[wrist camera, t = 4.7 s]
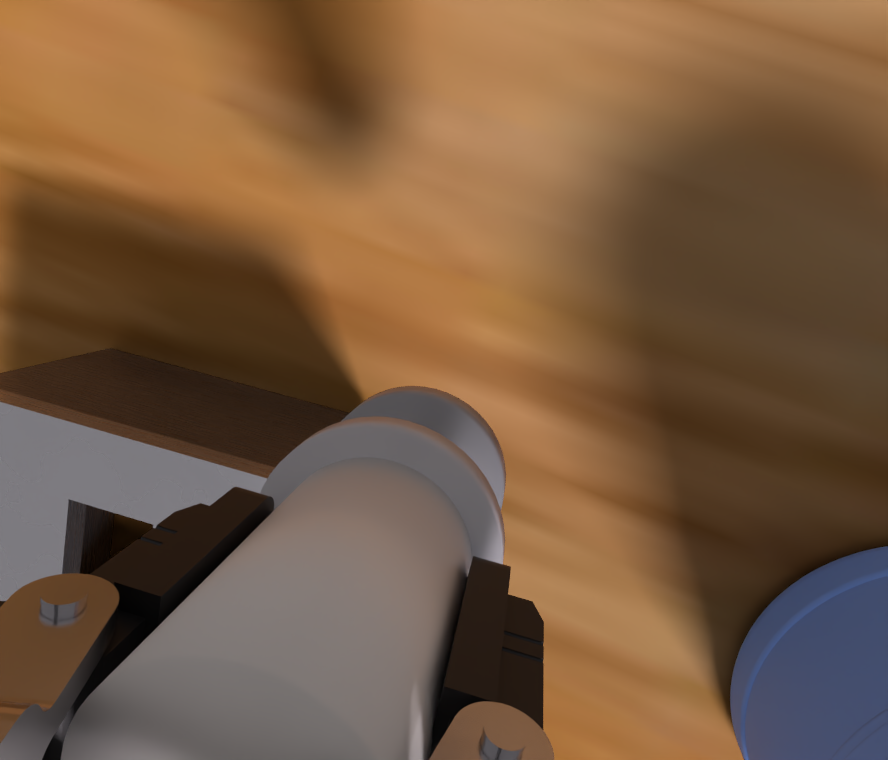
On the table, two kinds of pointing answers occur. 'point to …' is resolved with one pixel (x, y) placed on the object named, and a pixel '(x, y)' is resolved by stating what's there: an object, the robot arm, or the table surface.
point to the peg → (321, 602)
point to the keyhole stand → (126, 452)
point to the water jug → (818, 667)
